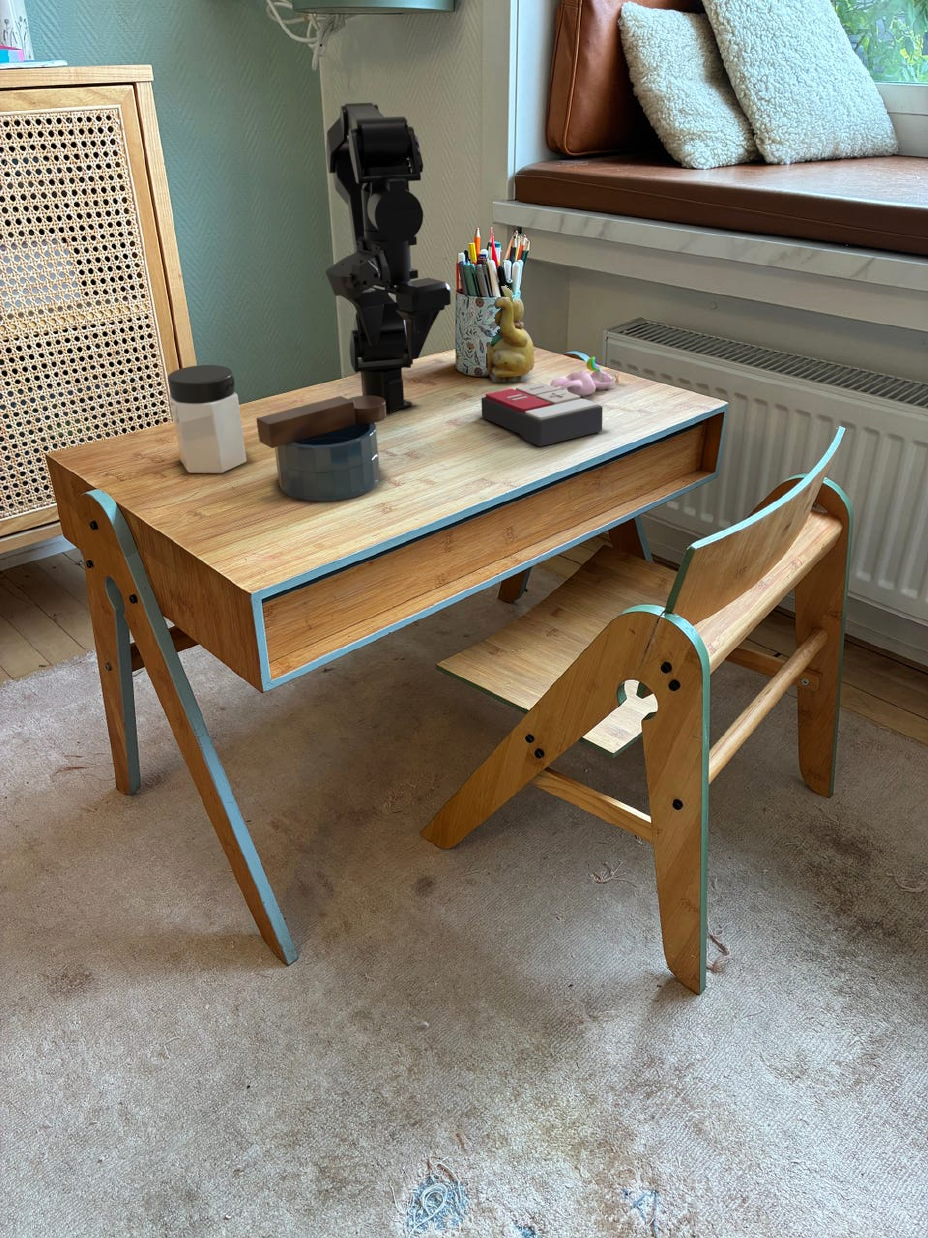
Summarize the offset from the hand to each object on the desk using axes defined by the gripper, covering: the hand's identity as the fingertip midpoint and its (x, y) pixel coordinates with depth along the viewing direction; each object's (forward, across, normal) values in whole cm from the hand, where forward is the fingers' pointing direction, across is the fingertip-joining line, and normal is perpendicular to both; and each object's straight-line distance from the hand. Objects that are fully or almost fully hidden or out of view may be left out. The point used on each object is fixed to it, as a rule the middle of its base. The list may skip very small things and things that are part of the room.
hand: (393, 351), depth 132 cm
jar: (+12, -9, -24) cm, 28 cm away
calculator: (+12, +10, +18) cm, 24 cm away
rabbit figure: (+12, +5, +32) cm, 35 cm away
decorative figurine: (+12, -10, +30) cm, 34 cm away
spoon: (+5, +7, -16) cm, 18 cm away
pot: (+12, +7, -16) cm, 21 cm away
